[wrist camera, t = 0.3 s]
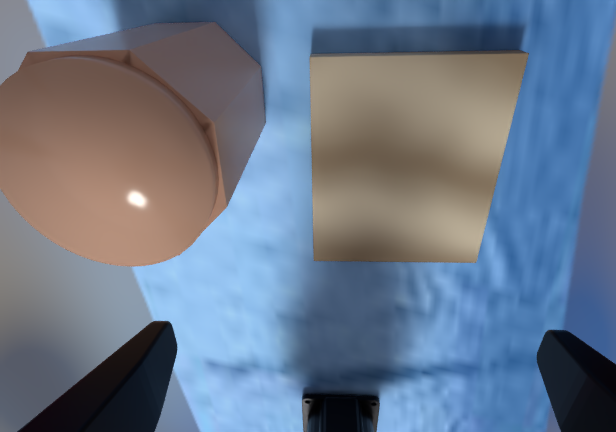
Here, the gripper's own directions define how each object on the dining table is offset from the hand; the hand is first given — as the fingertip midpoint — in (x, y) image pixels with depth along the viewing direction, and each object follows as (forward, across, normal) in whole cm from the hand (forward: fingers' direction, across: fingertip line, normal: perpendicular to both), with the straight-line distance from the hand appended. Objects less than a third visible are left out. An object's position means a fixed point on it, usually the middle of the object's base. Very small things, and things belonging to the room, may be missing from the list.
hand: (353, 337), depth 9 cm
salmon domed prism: (+14, +8, -3) cm, 16 cm away
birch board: (+14, -4, +1) cm, 14 cm away
